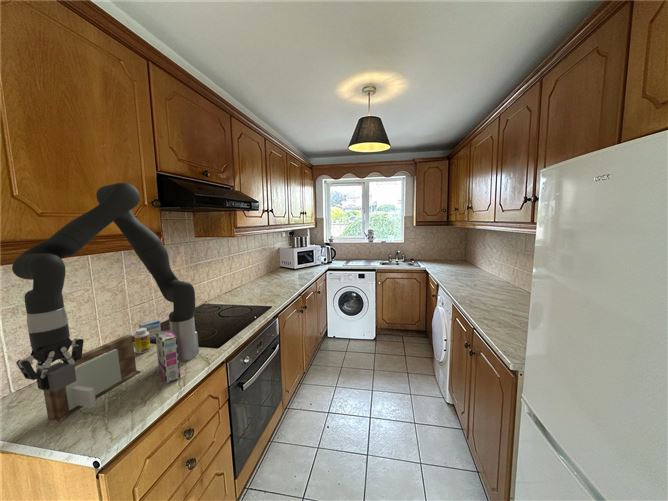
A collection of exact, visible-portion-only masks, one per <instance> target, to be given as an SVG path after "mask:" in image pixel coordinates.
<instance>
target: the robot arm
mask: <svg viewBox="0 0 668 501" xmlns="http://www.w3.org/2000/svg"><path fill="white" fill-rule="evenodd" d="M95 196H96V200H97V203H98V204H97V205H96V206H94V207H93V208H92V209H90V210H88V211H86V212H85V213H83V214H81V215H78V217H76V218H73V220H71V221H69V222H67V223H66V224H65V225H64V226H63V227H61V228H60V229H58V231H56V232H55V233H54V234H52V235H51V236H50V237H49V238H48V239H46V240H44V241H41V242H39V243H38V244H36V245H34V246H32V247H30V248H29V249H27V250H26V251H24V252H22V253H21V254H19V255H18V257H16V259H15V260H14V261H13V263H12V266H11V268H12V269H11V271H12V272H13V275H15V276H16V277H18V278H20V279H22V280H23V279H24V280H32V282H33V283H32V289H31V290H28V291H26V292H25V294H24V304H25V310H26V325H27V331H28V336H29V338H28V339H29V344H30V348H31V353H30V354H29V356H27V357H25V358H23V359H18V360H17V361H16V363H15V364H16V365H17V367H18V369H19V370H20V372H21V373H22V375H23V377H24V378H25V379H26V380H30V381H35V380H36V383H37V388H38V389H39V390H42V391H43V390H45V391H46V390H48V389H49V382H48V377H47V376H46V375H47V372H48V369H49V368H50V366H51V364H52V363H54V362H55V361H57V360H58V361H59V360H61V361H62V363H67V364H73V365H74V363H75V362H76V361H77V360H80V359H81V358H82V354H83V350H84V343H85V342H84V339H82V338H76V337H75V338H74V339H72V340H71V338H70V337H71V334H70V327H69V321H68V320H69V319H68V315H67V311H66V308H65V304H64V298H63V297H64V296H63V290H64V285H65V279H66V271H67V270H66V264H65V263H64V262H65V261H63V259H65V258H67V257H72V256H74V255H76V254H77V253H79V252H80V250H82V249H83V248H84V247H85V246H86V245H88V244H89V243H90V242H91V241H92V239H94V238H95V237H96V236H97V235H98V234H99V233H101V232H102V231H103V230H104V229H105V228H106V227H108V226H109V225H110V224H112V223H114V224H115V225H116V226H117V228H118V229H119V230H120V232H121V233H122V235H123V236H124V238H125V239H126V240H127V242H128V244H129V245H130V246H131V247H132V249H133V251H134V252H135V254H136V256H137V257H138V259H139V260H140V261H141V262H142V264H143V266H144V267H145V268H146V270H147V271H148V272H149V273H150V275H151V276H152V278H153V280H154V281H155V283H156V285H157V286H158V289H159V291H160V293H161V294H162V296H163V298H164V299H165V300H166V301H167V302H170V303H172V304H173V308H172V309H173V311H171V312H169V314H168V323H169V330H170V331H171V332H172V333H173V334H174V335H175V336H176V337H177V346H178V359H179V363H182V362H187V361H191V360H192V359H194V358H195V357H196V356H198V354H199V352H200V350H199V338H198V336H199V335H198V332H197V331H196V325H195V324H196V322H195V312H196V292H195V288H194V286H193V284H192V283H190V282H187V281H181V280H180V279H178V277H177V276H176V275H175V274H174V271H173V270H172V269H171V265H170V258H169V252H168V250H167V248H166V247H165V245H164V244H163V242H162V240H161V238H160V237H159V236H158V235H157V234H156V233H155V232H154V231H152V230H151V229H149V228H148V227H147V226H145V225H144V224H143V223H142V222H141V221H139V219H138V218H137V217H136V216H135V214H134V213H133V211H132V210H133V209H134V208H136V207H137V206H138V205H139V203H140V202H141V201H140V200H141V195H140V192H139V191H138V189H137V188H136V187H135V186H134V185H133V184H130V183H127V182H116V183H111V184H107V185H103V186H101V187H99V188H98V189H97V190H96V193H95ZM71 347H72V348H71ZM70 348H71V353H70V352H69V350H70ZM34 360H36V364H35V368H36V369H34V368H33V366H32V365H34V364H33V363H34V362H33V361H34ZM74 368H75V367H74Z"/></svg>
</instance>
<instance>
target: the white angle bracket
mask: <svg viewBox="0 0 668 501" xmlns="http://www.w3.org/2000/svg"><path fill="white" fill-rule="evenodd" d="M75 375H76V381H75V382H73V383H71V384H69V385H67V386H65V392H66V398H67V405H68V411H70V410H72V409H73V408H75V407H77V406H78V405H79V406H83V407H85V408H88V409H92V408H94V407H96V406H97V399H96V398H95V396H96V395H97V394H99V393H101V392H102V391H104V390H106V389H108V388H109V387H111V386H113V385H114V384H116V383H118V382H120V381H121V373H120V365H119V357H118V349H114V350H112V351H110V352H107V353H104V354H102V355H100V356H98V357H95V358H93V359H91V360H89V361H87V362H85V363H82V364H80V365H78V366H76V367H75ZM83 407H82V408H83Z"/></svg>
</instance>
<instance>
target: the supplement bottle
mask: <svg viewBox="0 0 668 501" xmlns="http://www.w3.org/2000/svg"><path fill="white" fill-rule="evenodd" d="M133 339H134V340H133V341H134V350H135V353H136V354H144V353H147V352H149V351H151V349H152V348H151V341H150V337H149V332H147V329H146V328H140V329H139V328H137V329H136V330H135V334H134V335H133Z"/></svg>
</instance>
